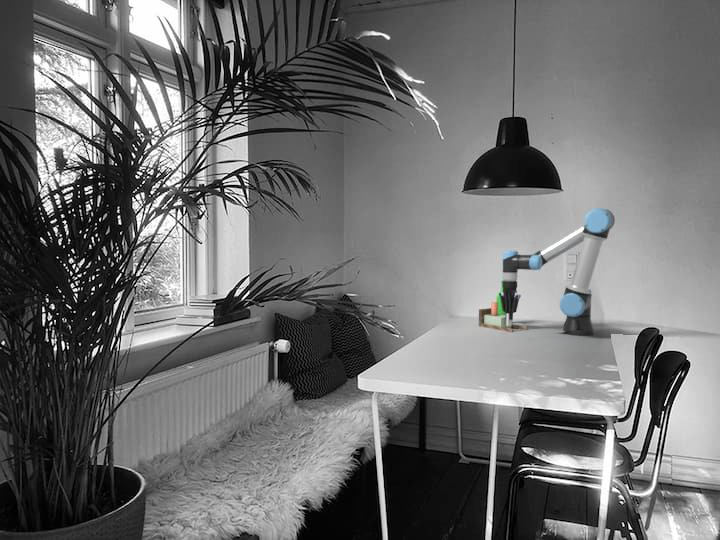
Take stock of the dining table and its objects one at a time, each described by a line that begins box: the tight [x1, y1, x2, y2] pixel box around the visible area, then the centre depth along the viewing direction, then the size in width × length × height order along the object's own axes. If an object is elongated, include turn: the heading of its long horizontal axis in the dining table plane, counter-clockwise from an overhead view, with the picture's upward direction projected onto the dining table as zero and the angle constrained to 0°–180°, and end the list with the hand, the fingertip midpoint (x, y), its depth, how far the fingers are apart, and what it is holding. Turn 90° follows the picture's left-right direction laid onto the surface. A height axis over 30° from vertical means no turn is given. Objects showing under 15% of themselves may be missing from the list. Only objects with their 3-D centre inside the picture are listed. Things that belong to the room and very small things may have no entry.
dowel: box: [490, 301, 498, 316], centre depth 339 cm, size 3×3×12 cm
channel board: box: [478, 307, 529, 333], centre depth 334 cm, size 23×12×10 cm, turn 35°
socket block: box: [484, 314, 512, 329], centre depth 337 cm, size 12×8×6 cm, turn 35°
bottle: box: [496, 279, 506, 316], centre depth 353 cm, size 9×9×25 cm
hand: (509, 325), depth 331 cm, fingers closed
